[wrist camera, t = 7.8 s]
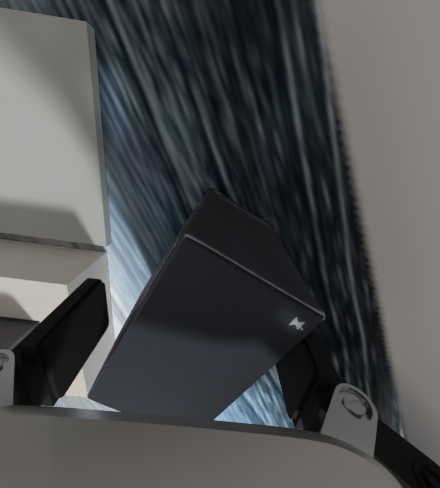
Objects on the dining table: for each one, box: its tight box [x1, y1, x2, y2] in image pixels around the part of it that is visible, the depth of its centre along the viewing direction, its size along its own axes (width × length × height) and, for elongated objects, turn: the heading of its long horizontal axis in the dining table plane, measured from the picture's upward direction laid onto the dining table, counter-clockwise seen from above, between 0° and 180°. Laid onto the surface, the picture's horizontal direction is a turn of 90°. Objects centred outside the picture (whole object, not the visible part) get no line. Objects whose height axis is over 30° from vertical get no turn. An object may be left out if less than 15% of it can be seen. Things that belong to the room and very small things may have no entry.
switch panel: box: [0, 239, 115, 397], centre depth 18 cm, size 12×14×6 cm
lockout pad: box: [0, 7, 111, 246], centre depth 15 cm, size 14×11×1 cm
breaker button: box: [0, 316, 40, 351], centre depth 16 cm, size 4×4×6 cm
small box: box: [87, 188, 325, 420], centre depth 13 cm, size 11×6×10 cm, turn 148°
